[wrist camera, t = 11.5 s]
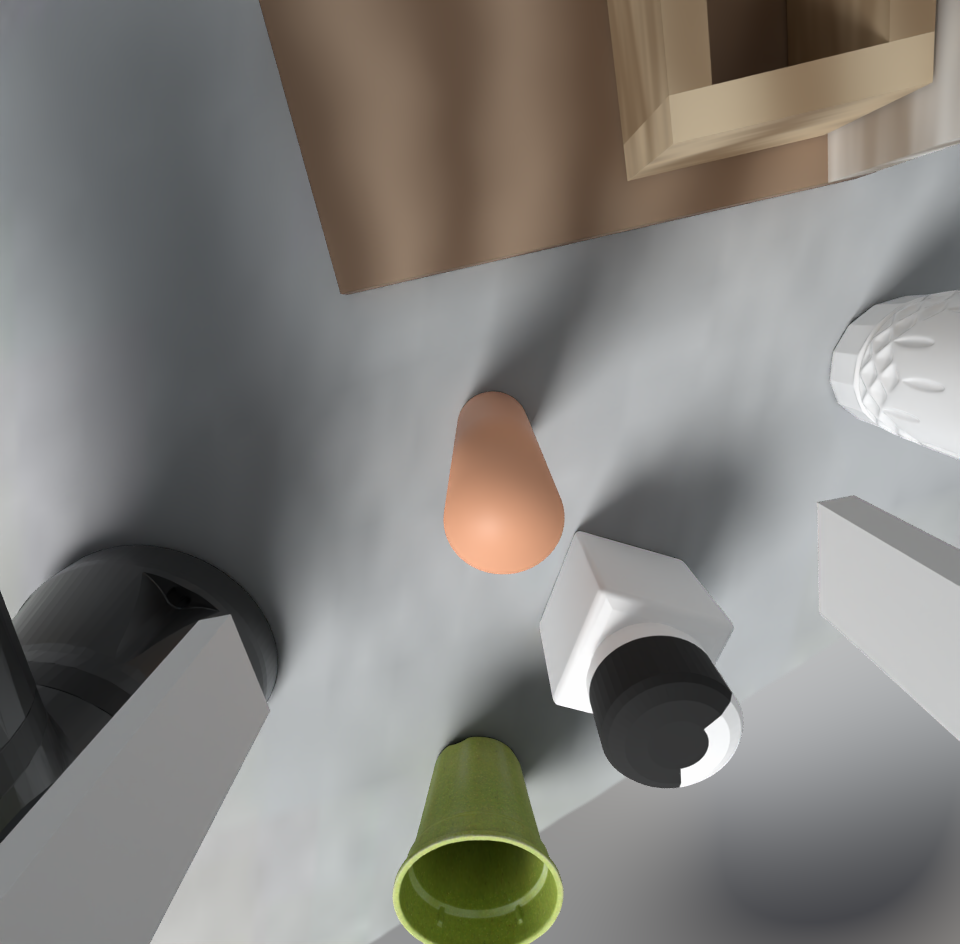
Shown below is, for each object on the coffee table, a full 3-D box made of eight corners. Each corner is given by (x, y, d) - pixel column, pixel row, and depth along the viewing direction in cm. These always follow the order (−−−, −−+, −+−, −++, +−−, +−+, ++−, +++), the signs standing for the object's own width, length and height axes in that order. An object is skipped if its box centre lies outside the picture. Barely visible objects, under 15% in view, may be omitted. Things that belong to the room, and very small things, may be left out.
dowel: (466, 467, 31) (460, 584, 18) (449, 400, 29) (429, 478, 17) (534, 451, 30) (574, 560, 18) (519, 383, 29) (551, 450, 17)
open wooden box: (627, 181, 25) (673, 143, 19) (600, -57, 22) (644, -185, 16) (824, 134, 24) (932, 82, 18) (821, -115, 21) (947, -268, 16)
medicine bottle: (536, 625, 34) (567, 790, 22) (575, 527, 32) (630, 654, 20) (640, 653, 34) (721, 826, 23) (684, 558, 32) (797, 697, 21)
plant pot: (430, 700, 36) (416, 821, 27) (562, 732, 36) (587, 857, 28) (397, 802, 38) (375, 939, 30) (520, 829, 39) (532, 970, 31)
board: (347, 294, 28) (284, 290, 19) (266, -4, 24) (135, -194, 15) (854, 179, 26) (1054, 112, 17) (855, -160, 22) (1115, -480, 13)
